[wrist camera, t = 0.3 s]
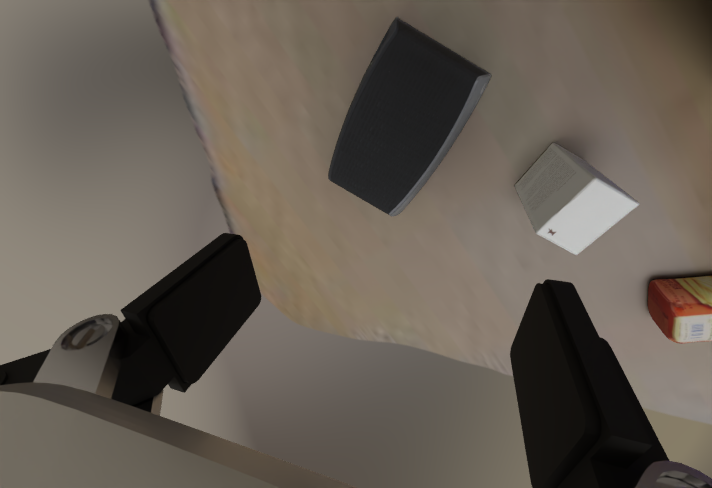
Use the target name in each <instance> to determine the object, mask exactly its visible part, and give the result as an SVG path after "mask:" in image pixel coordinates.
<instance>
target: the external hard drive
mask: <svg viewBox="0 0 712 488" xmlns="http://www.w3.org/2000/svg"><path fill="white" fill-rule="evenodd" d="M491 76H492V75H491V74H489V73H488V72H486V71H485V70H483V69H481V68H480V67H478V66H476V65H475V64H473V63H471V62H469V61H468V60H466V59H465V58H463V57H461V56H460V55H458V54H457V53H455V52H453V51H451V50H450V49H448V48H447V47H445V46H443V45H442V44H440V43H438V42H437V41H435V40H433V39H432V38H430V37H428V36H427V35H425V34H424V33H422V32H420V31H418V30H416V29H415V28H413V27H412V26H410V25H408V24H407V23H405V22H403V21H402V20H400V19H398V17H396V18H395V20H394V21H393V22H392V24H391V26H390V28H389V29H388V31H387V33H386V35H385V36H384V38H383V40H382V42H381V44H380V46H379V47H378V49H377V51H376V53H375V55H374V57H373V59H372V61H371V63H370V65H369V67H368V69H367V70H366V73H365V74H364V76H363V78H362V81H361V83H360V85H359V87H358V90H357V92H356V94H355V96H354V99H353V101H352V103H351V105H350V108H349V110H348V113H347V115H346V118H345V121H344V123H343V126H342V129H341V132H340V135H339V138H338V141H337V144H336V147H335V150H334V154H333V157H332V161H331V165H330V169H329V174H328V178H329V180H330V181H332V182H333V183H335V184H337V185H338V186H340V187H342V188H344V189H345V190H347V191H349V192H351V193H352V194H354V195H356V196H357V197H359V198H361V199H363V200H364V201H366V202H368V203H370V204H371V205H373V206H375V207H376V208H378V209H380V210H382V211H383V212H385V213H387V214H388V215H390V216H396V215H398V214H400V213H401V212H402V211H403V209H404V208H405V207H406V206H407V205H408V204H409V203H410V202H411V200H412V199H413V198H414V197H415V196H416V194H417V193H418V192H419V191H420V189H421V188H422V187H423V185H424V184H425V183H426V182H427V180H428V179H429V178H430V176H431V175H432V174H433V172H434V171H435V170H436V168H437V167H438V165H439V164H440V163H441V161H442V160H443V158H444V157H445V155H446V154H447V152H448V151H449V149H450V148H451V146H452V145H453V143H454V142H455V140H456V138H457V137H458V135H459V134H460V132H461V130H462V129H463V127H464V126H465V124H466V122H467V120H468V119H469V117H470V115H471V114H472V112H473V110H474V108H475V107H476V105H477V103H478V101H479V99H480V98H481V96H482V94H483V92H484V90H485V88H486V86H487V84H488V82H489V80H490V78H491Z"/></svg>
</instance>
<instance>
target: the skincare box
mask: <svg viewBox="0 0 712 488" xmlns="http://www.w3.org/2000/svg"><path fill="white" fill-rule="evenodd" d="M515 189H516V191H517V193H518V195H519V197H520V199H521V202H522V204H523V206H524V208H525V211H526V213H527V215H528V217H529V219H530V221H531V224H532V226H533V228H534V230H535V233H536V234H537V235H539V236H541V237H543V238H545V239H547V240H548V241H550V242H552V243H554V244H556V245H558V246H560V247H561V248H563V249H565V250H567V251H569V252H571V253H572V254H574V255H578V254H579V253H580V252H581V251H583V250H584V249H585V248H586V247H587V246H589V245H590V244H591V243H592V242H594V241H595V240H596V239H597V238H599V237H600V236H601V235H602V234H603V233H605V232H606V231H607V230H608V229H610V228H611V227H612V226H613V225H614V224H616V223H617V222H618V221H619V220H621V219H622V218H623V217H624V216H626V215H627V214H628V213H629V212H631V211H632V210H633V209H634V208H636V207H637V206H638V205H639V202H638V201H636V200H635V199H634V198H632V197H631V196H630V195H629V194H627V193H626V192H625V191H623V190H622V189H621V188H619V187H618V186H617V185H616V184H614V183H613V182H612V181H610V180H609V179H608V178H607V177H605V176H604V175H603V174H601V173H600V172H599V171H598V170H596V169H595V168H594V167H593V166H591V165H590V164H589V163H587V162H586V161H585V160H583V159H581V158H580V157H578V156H576V155H575V154H573V153H571V152H570V151H568V150H566V149H565V148H563V147H561V146H560V145H558V144H556V143H552V144H551V145H550V146H549V147H548V148H547V150H546V151H545V152H544V153H543V154H542V155H541V156H540V157H539V159H538V160H537V161H536V162H535V163H534V164H533V165H532V167H531V168H530V169H529V170H528V171H527V172H526V173H525V174H524V176H523V177H522V178H521V179H520V180H519V181H518V182H517V183H516V184H515Z"/></svg>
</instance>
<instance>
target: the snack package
mask: <svg viewBox="0 0 712 488" xmlns="http://www.w3.org/2000/svg"><path fill="white" fill-rule="evenodd" d="M648 309H649V313H650V315H651V317H652V319H653V320H654V322H655V323H656V324H657V325H658V327H659V328H660V329H661V331H662V332H663V333H664V334H665V336H666V337H667V338H668V339H670V340H671V341H673V342H676V343H690V342H701V341H712V276H702V277H691V278H679V279H657V280H653V281H651V282H650V284H649V288H648Z"/></svg>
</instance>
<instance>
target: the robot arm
mask: <svg viewBox="0 0 712 488" xmlns="http://www.w3.org/2000/svg"><path fill="white" fill-rule="evenodd" d="M260 301H261V293H260V290H259V286H258V282H257V279H256V275H255V271H254V268H253V264H252V261H251V257H250V253H249V250H248V246H247V243H246V241H245V240H243V238H242V236H240V235H236V234H229V233H223V234H221V235H220V236H219V237H217V238H216V239H215V240H213V241H212V242H211V243H209V244H208V245H207V246H205V247H204V248H203V249H201V250H200V251H199V252H198V253H196V254H195V255H193V256H192V257H191V258H189V259H188V260H187V261H185V262H184V263H183V264H181V265H180V266H179V267H177V268H176V269H175V270H173V271H172V272H171V273H169V274H168V275H167V276H165V277H164V278H163V279H161V280H160V281H159V282H157V283H156V284H155V285H153V286H152V287H151V288H149V289H148V290H147V291H145V292H144V293H143V294H142V295H140V296H139V297H138V298H136V299H135V300H133V301H132V302H131V303H129V304H128V305H127V306H125V307H124V308H123V309H121V312H122V313H123V315H124V317H125V318H126V319H125V320H124V321H122V322H120V320H119V319H118V317H117V316H115V315H112V314H103V315H96V316H93V317H90V318H87V319H85V320H83V321H81V322H79V323H77V324H75V325H73V326H72V327H70V328H69V329H67V330H66V331H65V332H64V333H63V334H61V335H60V337H59V338H58V339H57V340H56V342H55V343H54V345H53V347H52V348H51V349H49V350H47V351H44V352H40V353H37V354H34V355H31V356H28V357H25V358H22V359H19V360H15V361H12V362H9V363H6V364H3V365H0V488H357V487H354V486H351V485H348V484H346V483H343V482H340V481H338V480H335V479H332V478H330V477H327V476H324V475H321V474H319V473H316V472H313V471H310V470H308V469H305V468H302V467H300V466H297V465H294V464H291V463H289V462H286V461H283V460H280V459H278V458H275V457H272V456H269V455H267V454H264V453H261V452H258V451H255V450H253V449H250V448H247V447H245V446H242V445H239V444H236V443H233V442H231V441H228V440H225V439H222V438H220V437H217V436H214V435H211V434H209V433H206V432H203V431H200V430H197V429H195V428H192V427H189V426H186V425H183V424H181V423H178V422H175V421H172V420H169V419H167V418H163V417H161V416H160V410H161V404H162V396H163V388H164V387H165V386H166V385H167V384H169V386H170V388H172V389H175V390H178V391H181V392H186V390H187V389H188V387H190V385H191V384H193V383H195V382H196V381H198V380H199V379H200V377H201V376H202V375H203V374H204V372H205V371H206V370H207V369H208V367H209V366H210V365H211V364H212V362H213V361H214V360H215V359H216V358H217V356H218V355H219V354H220V352H221V351H222V350H223V349H224V348H225V346H226V345H227V344H228V343H229V341H230V340H231V339H232V337H233V336H234V335H235V334H236V333H237V331H238V330H239V329H240V328H241V326H242V325H243V324H244V322H246V320H247V319H248V318H249V316H250V315H251V314H252V313H253V312H254V310H255V309H256V308H257V307H258V305H259V304H260ZM510 357H511V364H512V370H513V376H514V382H515V388H516V394H517V401H518V406H519V413H520V418H521V425H522V431H523V436H524V443H525V449H526V455H527V461H528V467H529V473H530V479H531V484H532V487H533V488H712V479H711V478H710V477H708V476H707V475H705V474H703V473H702V472H700V471H698V470H696V469H694V468H691V467H689V466H687V465H684V464H682V463H678V462H672V461H669V459H668V457H667V455H666V453H665V452H664V449H663V448H662V446H661V444H660V442H659V440H658V438H657V436H656V434H655V432H654V430H653V428H652V426H651V424H650V422H649V420H648V418H647V416H646V414H645V412H644V411H643V409H642V407H641V405H640V403H639V401H638V399H637V397H636V395H635V393H634V391H633V389H632V387H631V385H630V383H629V381H628V379H627V378H626V376H625V374H624V372H623V370H622V368H621V366H620V364H619V362H618V360H617V358H616V356H615V354H614V352H613V350H612V348H611V347H610V345H609V344H608V342H607V341H606V340H604V339H603V338H600V337H599V335H598V333H597V331H596V329H595V327H594V325H593V323H592V321H591V319H590V317H589V315H588V313H587V311H586V309H585V307H584V305H583V303H582V301H581V299H580V297H579V295H578V293H577V291H576V289H575V287H574V285H573V284H572V283H570V282H563V281H556V280H549V279H547V280H545V281H544V283H543V284H540V283H538V284H536V286H535V288H534V291H533V293H532V296H531V298H530V301H529V303H528V306H527V308H526V311H525V313H524V316H523V318H522V321H521V323H520V326H519V329H518V331H517V334H516V336H515V339H514V341H513V344H512V347H511V353H510Z"/></svg>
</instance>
